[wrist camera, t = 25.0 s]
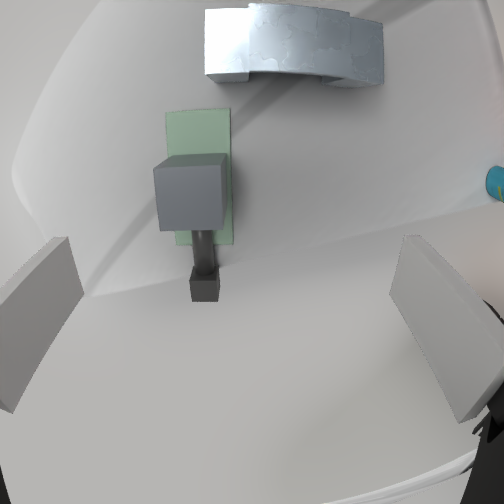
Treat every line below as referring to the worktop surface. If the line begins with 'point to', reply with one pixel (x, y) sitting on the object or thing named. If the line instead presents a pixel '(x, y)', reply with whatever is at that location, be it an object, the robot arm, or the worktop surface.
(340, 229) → the worktop surface
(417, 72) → the worktop surface
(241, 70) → the housing
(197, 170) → the plug
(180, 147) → the mat
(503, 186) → the tube
